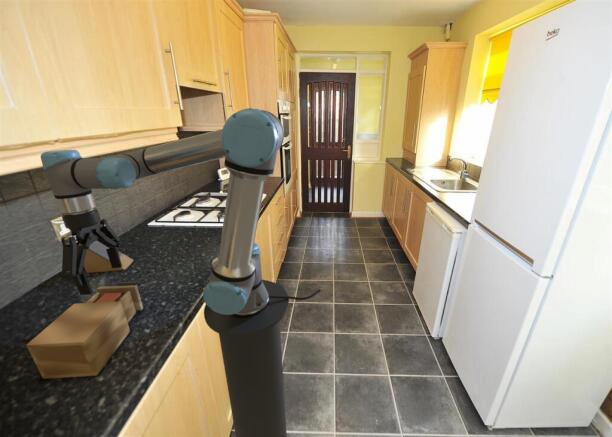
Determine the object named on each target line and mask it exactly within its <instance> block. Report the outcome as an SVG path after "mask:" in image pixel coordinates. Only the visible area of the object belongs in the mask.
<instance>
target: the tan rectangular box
mask: <svg viewBox="0 0 612 437" xmlns="http://www.w3.org/2000/svg"><path fill="white" fill-rule="evenodd" d="M130 332H131V329H130V326H129V322H127V319H126V316H125V313H124V310H123V306H122V303H121V301H119V302H98V303H86V302H78V303H73V304H72V305H71V306H70V307H68V308H67V309H66V310H65V311H64V312H63V313H61V314H60V315H59V316H58V317H57V318H56V319H54V321H52V322H51V323H50V324H48V326H47V327H45V328H44V329H43V330H42V331H41V332H40V333H38V334H37V335H36V336H35V337H33V339H31V340H30V341H29V342H28V343H27V344H26V348H27V350H28V352H29V354H30V356H31V358H32V359H33V362H34V363H35V364H34V365H35V366H36V368H37V370H38V372H39V374H40V376H41V377H42V379H43V380H46V379H48V380H49V379H62V378H63V379H64V378H81V377H96V376H98V375H99V374H100V372H101V371H102V370H103V368H104V367H105V366H106V365H107V363H108V362H109V360H110V359H111V358H112V356H113V355H114V353H116V351H117V350H118V348H119V347H120V346H121V344H122V343H123V341H124V340H125V339H126V337H127V336H128V335H129V334H130Z"/></svg>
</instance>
